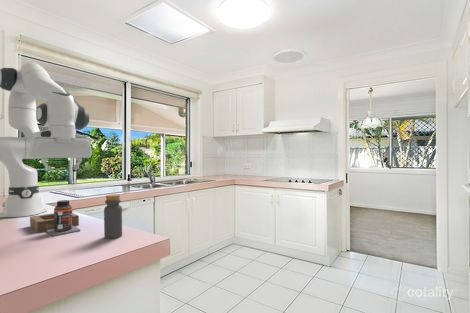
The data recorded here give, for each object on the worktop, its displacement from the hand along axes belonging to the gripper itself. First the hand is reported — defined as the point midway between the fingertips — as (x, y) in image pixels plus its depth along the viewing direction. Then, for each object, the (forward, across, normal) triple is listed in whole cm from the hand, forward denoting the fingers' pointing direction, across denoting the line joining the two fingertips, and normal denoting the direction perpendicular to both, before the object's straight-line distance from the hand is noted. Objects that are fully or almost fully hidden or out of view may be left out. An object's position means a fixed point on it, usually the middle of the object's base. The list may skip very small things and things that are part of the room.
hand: (62, 169), depth 102 cm
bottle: (+24, -10, +22) cm, 34 cm away
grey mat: (+24, 0, 0) cm, 24 cm away
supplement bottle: (+24, 0, 0) cm, 24 cm away
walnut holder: (+24, 0, -12) cm, 27 cm away
